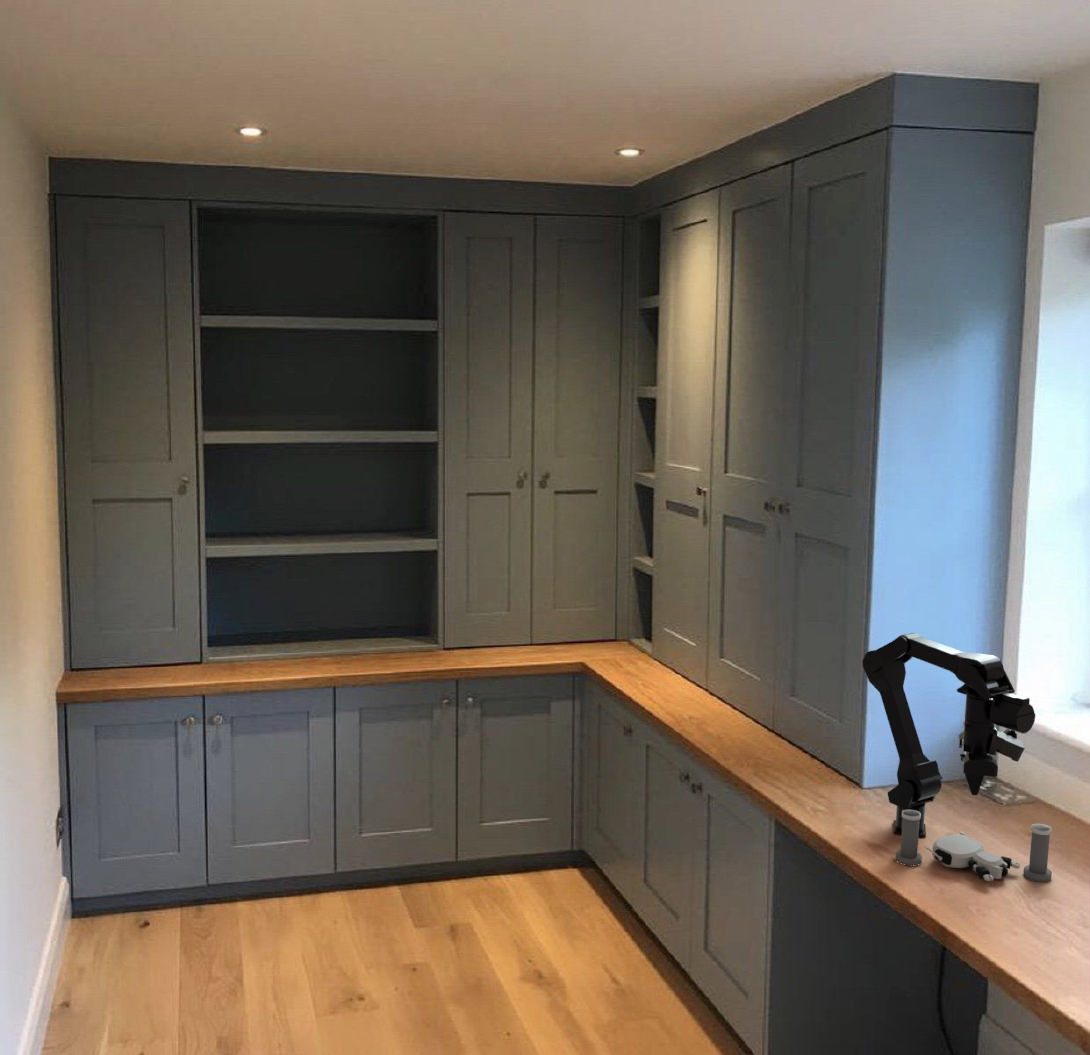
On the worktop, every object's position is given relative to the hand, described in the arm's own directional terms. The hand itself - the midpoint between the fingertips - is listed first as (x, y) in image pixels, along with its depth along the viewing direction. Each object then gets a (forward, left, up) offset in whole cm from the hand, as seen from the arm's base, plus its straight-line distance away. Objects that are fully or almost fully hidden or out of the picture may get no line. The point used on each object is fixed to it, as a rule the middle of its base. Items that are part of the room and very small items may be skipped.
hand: (974, 794), depth 246 cm
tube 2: (+6, +12, -13) cm, 19 cm away
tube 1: (+6, -12, -13) cm, 19 cm away
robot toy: (+6, 0, -13) cm, 15 cm away
